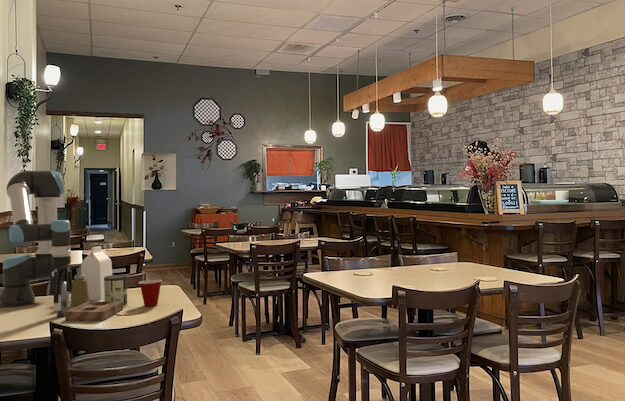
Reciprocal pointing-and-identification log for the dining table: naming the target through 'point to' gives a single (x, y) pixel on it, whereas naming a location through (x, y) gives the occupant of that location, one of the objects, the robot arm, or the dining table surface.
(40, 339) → the dining table surface
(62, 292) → the peg
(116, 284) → the coffee can
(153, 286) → the plastic cup
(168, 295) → the dining table surface
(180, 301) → the dining table surface
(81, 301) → the squeeze bottle
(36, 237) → the robot arm
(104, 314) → the hole block
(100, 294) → the milk
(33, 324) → the dining table surface
